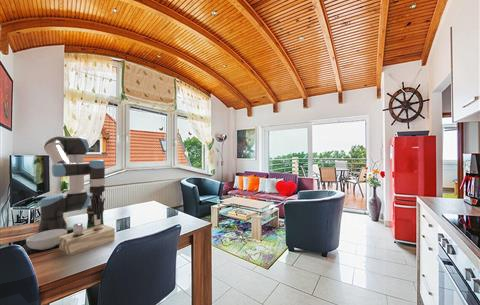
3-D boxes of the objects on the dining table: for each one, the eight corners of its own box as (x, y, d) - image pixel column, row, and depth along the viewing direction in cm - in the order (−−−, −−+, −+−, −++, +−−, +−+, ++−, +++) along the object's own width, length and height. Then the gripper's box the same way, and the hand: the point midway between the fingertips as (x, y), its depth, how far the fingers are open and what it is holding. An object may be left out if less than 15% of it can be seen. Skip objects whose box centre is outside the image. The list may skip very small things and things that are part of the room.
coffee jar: (86, 236, 130) (86, 207, 130) (86, 232, 137) (85, 204, 136) (105, 232, 137) (104, 204, 136) (103, 228, 143) (103, 202, 143)
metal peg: (72, 237, 114) (72, 225, 114) (80, 235, 117) (80, 222, 117) (75, 239, 112) (75, 226, 112) (83, 236, 115) (83, 224, 115)
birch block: (59, 249, 113) (59, 236, 113) (102, 235, 132) (102, 224, 132) (70, 255, 106) (70, 242, 106) (114, 239, 125) (114, 228, 125)
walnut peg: (92, 240, 123) (92, 228, 123) (99, 238, 126) (99, 226, 126) (95, 242, 121) (95, 230, 121) (103, 239, 124) (103, 228, 124)
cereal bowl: (63, 237, 128) (63, 226, 128) (70, 245, 118) (70, 233, 118) (24, 247, 115) (24, 235, 115) (27, 257, 105) (27, 243, 105)
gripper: (84, 185, 123) (85, 224, 124) (95, 187, 117) (96, 228, 117) (98, 183, 130) (98, 220, 130) (109, 185, 123) (109, 224, 123)
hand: (97, 224), depth 124 cm, fingers closed
